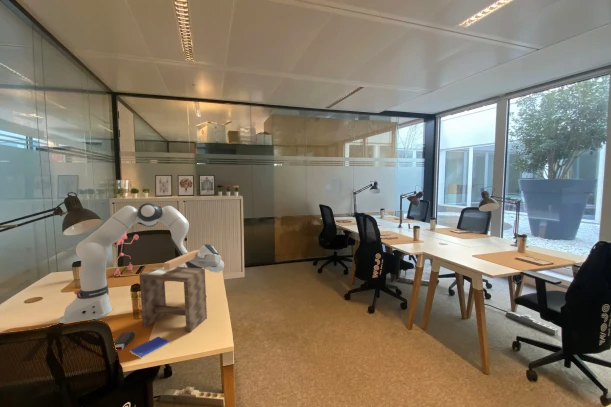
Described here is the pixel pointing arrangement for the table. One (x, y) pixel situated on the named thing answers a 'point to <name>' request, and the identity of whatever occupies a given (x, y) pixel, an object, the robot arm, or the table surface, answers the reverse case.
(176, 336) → the table surface
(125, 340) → the usb drive
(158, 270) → the stand
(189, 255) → the handle bar
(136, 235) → the pink wire sculpture
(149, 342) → the hard drive
